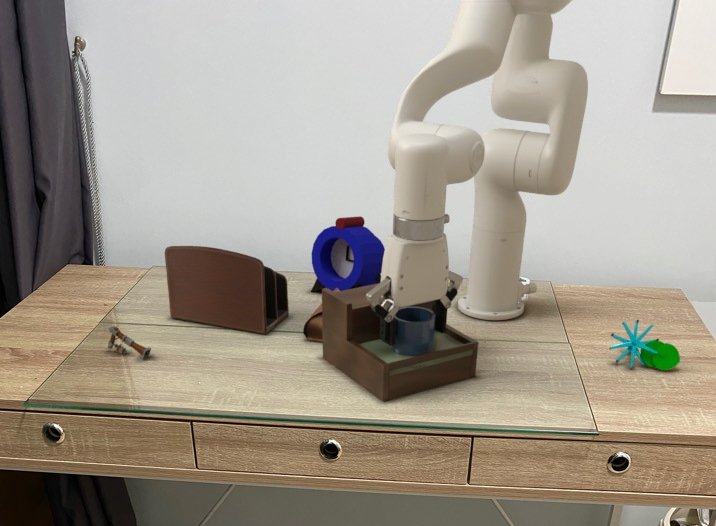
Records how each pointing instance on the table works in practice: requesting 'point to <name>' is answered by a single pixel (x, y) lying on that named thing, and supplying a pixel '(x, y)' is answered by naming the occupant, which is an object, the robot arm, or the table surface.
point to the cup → (414, 331)
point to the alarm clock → (347, 256)
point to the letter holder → (224, 289)
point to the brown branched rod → (128, 341)
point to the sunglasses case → (315, 324)
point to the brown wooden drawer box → (388, 349)
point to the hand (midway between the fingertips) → (413, 336)
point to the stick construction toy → (648, 350)
